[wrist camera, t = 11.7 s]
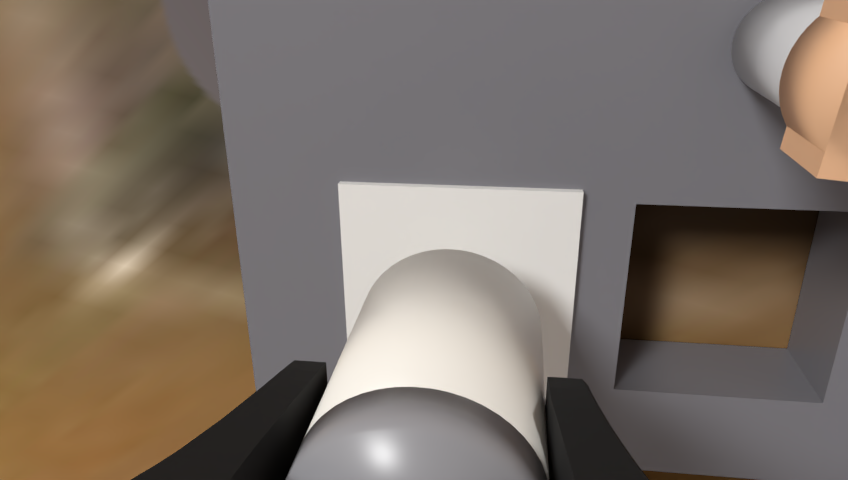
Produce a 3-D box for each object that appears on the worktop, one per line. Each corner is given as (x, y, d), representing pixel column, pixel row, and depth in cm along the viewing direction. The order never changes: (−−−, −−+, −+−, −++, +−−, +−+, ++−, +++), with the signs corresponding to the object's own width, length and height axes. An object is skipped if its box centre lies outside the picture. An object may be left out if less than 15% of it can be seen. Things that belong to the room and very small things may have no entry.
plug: (544, 250, 14) (557, 438, 9) (539, 411, 16) (548, 656, 10) (354, 247, 15) (255, 424, 9) (367, 403, 16) (289, 633, 11)
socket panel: (1165, -67, 14) (1557, -71, 9) (974, 436, 20) (1150, 628, 14) (243, -60, 17) (111, -59, 11) (288, 387, 22) (212, 536, 17)
